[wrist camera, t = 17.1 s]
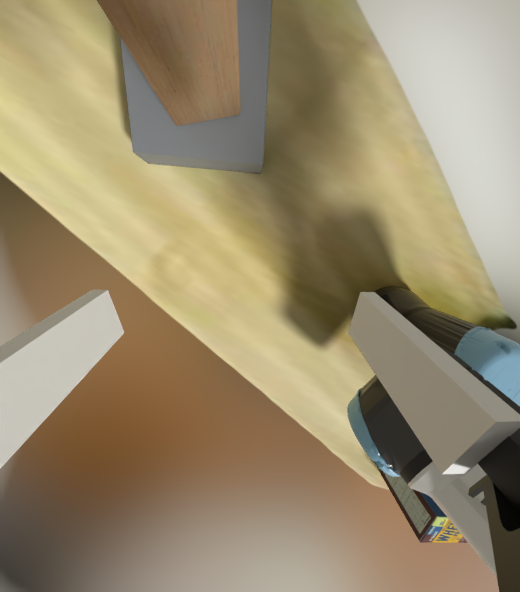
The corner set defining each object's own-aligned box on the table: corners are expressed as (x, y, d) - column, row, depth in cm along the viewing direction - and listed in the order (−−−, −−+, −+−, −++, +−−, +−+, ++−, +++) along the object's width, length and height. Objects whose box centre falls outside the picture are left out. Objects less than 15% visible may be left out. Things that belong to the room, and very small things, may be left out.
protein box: (420, 475, 67) (469, 543, 52) (379, 473, 65) (419, 543, 50) (433, 453, 64) (490, 519, 49) (391, 450, 62) (437, 517, 47)
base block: (268, 27, 30) (272, -11, 26) (260, 173, 36) (263, 164, 32) (133, 6, 29) (111, -39, 24) (148, 163, 35) (133, 152, 30)
